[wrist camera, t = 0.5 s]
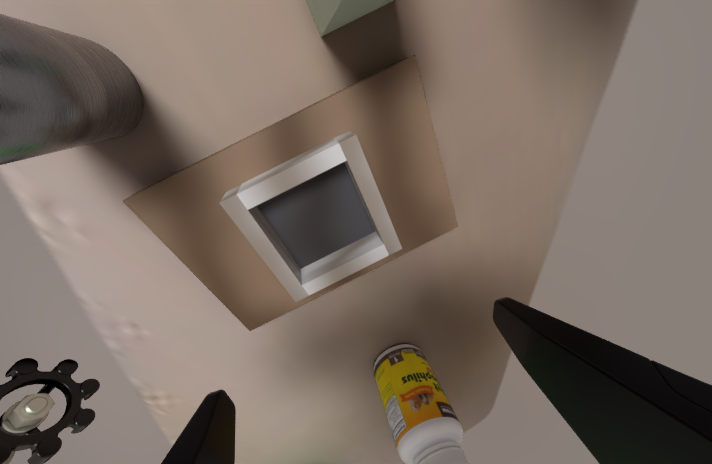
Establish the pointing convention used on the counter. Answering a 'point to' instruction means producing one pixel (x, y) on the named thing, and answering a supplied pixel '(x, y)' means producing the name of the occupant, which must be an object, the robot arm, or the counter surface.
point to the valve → (42, 410)
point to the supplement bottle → (417, 408)
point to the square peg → (340, 12)
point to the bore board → (308, 198)
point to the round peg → (60, 91)
